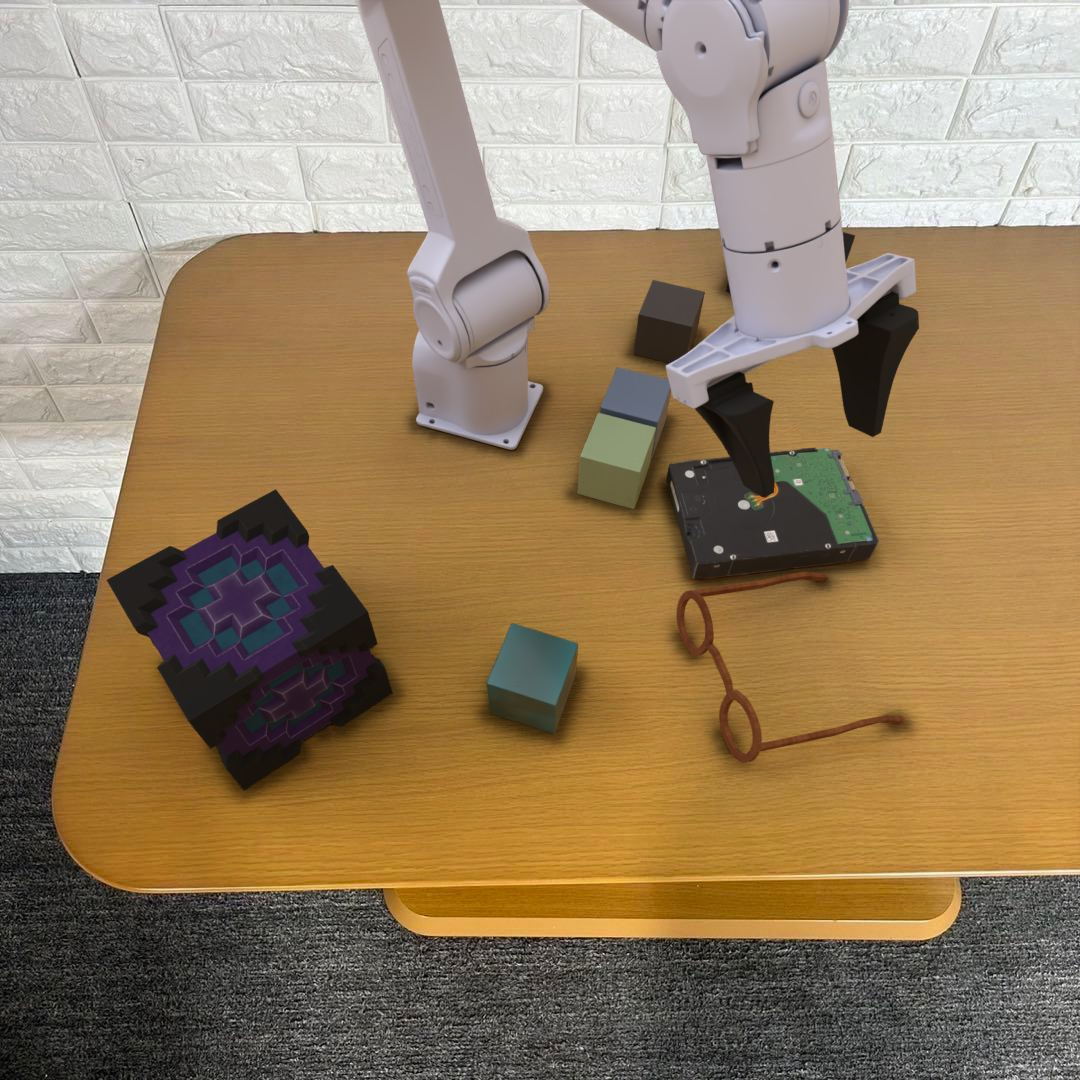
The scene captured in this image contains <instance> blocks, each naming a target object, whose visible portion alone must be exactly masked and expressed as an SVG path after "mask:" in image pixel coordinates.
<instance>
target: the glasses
mask: <svg viewBox="0 0 1080 1080" xmlns="http://www.w3.org/2000/svg"><path fill="white" fill-rule="evenodd" d="M827 579H829V576H828V574H827V573H823V572H813V571H802V572H801V571H800V572H795V573H788V574H783V575H778V576H773V577H770V578H766V579H761V580H754V581H748V582H740V583H734V584H727V585H719V586H712V587H707V588H705V587H704V588H700V589H690V590H686V591H684V592H683V593H682V594H681V595H680V597H679V600H678V602H677V606H676V623H677V628H678V632H679V636H680V638H681V641H682V642H683V645H684V647H685V648H686V650H687V651H688V652H689V653H690V654H691V655H692V656H696V657H697V656H701V655H704V654H706V653H707V652H708V653H709V654H710V655H711V657H712V660H713V662H714V664H715V667H716V669H717V671H718V674H719V676H720V678H721V680H722V683H723V685H724V689H725V695H724V697H723V699H722V701H721V704H720V707H719V713H718V718H719V720H718V721H719V726H720V730H721V734H722V737H723V740H724V742H725V745H726V746H727V749H728V751H729V752H730V753H731V755H732V757H733V758H734V759H735V760H737V761H738V762H740V763H741V764H742V763H743V764H746V763H750V762H753V761H755V760H756V759H757V758H758V757H759V754H760V753H763V752H766V751H771V750H775V749H780V748H784V747H788V746H794V745H799V744H803V743H808V742H812V741H817V740H821V739H826V738H831V737H835V736H839V735H841V734H842V735H843V734H845V733H848V732H851V731H853V730H857V729H860V728H865V727H868V726H873V725H877V724H895V725H896V724H900V723H904V722H906V719H905V717H904V715H892V714H891V715H890V714H885V715H879V716H874V717H869V718H864V719H859V720H856V721H853V722H849V723H845V724H843V725H840V726H835V727H831V728H826V729H822V730H817V731H812V732H807V733H802V734H798V735H793V736H788V737H784V738H780V739H774V740H771V741H766V742H763V736H762V728H761V724H760V721H759V718H758V715H757V712H756V710H755V708H754V706H753V705H752V703H751V701H750V700H749V699H748V698H747V696H746V695H745V694H744V693H742V692H741V691H740V690H738V689H734V686H733V685H734V684H733V681H732V677H731V675H730V672H729V669H728V668H727V665H726V663H725V661H724V659H723V656H722V654H721V652H720V650H719V649H718V647H717V646H716V645H715V644H714V639H715V633H714V624H713V618H712V617H713V616H712V614H711V611H710V608H709V606H708V604H707V601H706V599H704V598H705V597H713V596H719V595H726V594H732V593H733V594H734V593H740V592H747V591H752V590H759V589H765V588H768V587H772V586H777V585H780V584H784V583H790V582H796V581H800V580H802V581H803V580H804V581H814V582H824V581H826V580H827ZM690 600H693V601H694V602H695V603H696V605H697V606H698V609H699V610H700V613H701V615H702V619H703V624H704V638H703V641H702V643H701V644H700V645H699V646H697V645H695V644H694V642H693V641H692V639H691V637H690V635H689V632H688V630H687V625H686V621H685V612H686V607H687V604H688V602H689V601H690ZM734 701H735V702H737V703H738V704H739V705H740V706H741V707H742V709H743V710H744V712H745V714H746V716H747V719H748V721H749V725H750V729H751V736H752V738H751V739H752V740H751V742H752V743H751V746H750V748H749V750H748V751H747V752H746V753H745V752H743V751H742V750H741V749H740V748H739V747H738V745H737V743H736V742H735V740H734V737H733V735H732V732H731V730H730V725H729V719H728V718H729V710H730V707H731V706H732V703H733V702H734Z"/></svg>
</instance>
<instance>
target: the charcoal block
mask: <svg viewBox="0 0 1080 1080" xmlns="http://www.w3.org/2000/svg"><path fill="white" fill-rule="evenodd" d="M705 294H706V292H705V291H704V290H699V289H695V288H691V287H687V286H682V285H677V284H673V283H668V282H664V281H660V280H655V279H652V281H651V283H650V286H649V288H648V290H647V293H646V295H645V298H644V300H643V303H642V304H641V308H640V310H639V312H638V315H637V316H638V317H637V324H636V330H635V331H636V332H635V339H634V349H633V355H635V356H639V357H643V358H647V359H651V360H655V361H658V362H663V363H667V364H670V363H672V362H674V361H675V360H677V359H679V358H680V357H682V356H684V355H685V354H687V353H688V352H689V351H691V350H692V348H693V344H694V341H695V339H696V336H697V334H698V329H699V323H700V319H701V314H702V309H703V304H704V298H705Z"/></svg>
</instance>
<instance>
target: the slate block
mask: <svg viewBox="0 0 1080 1080" xmlns="http://www.w3.org/2000/svg"><path fill="white" fill-rule="evenodd" d="M671 395H672V392H671V388H670V384H669V379H668V378H663V377H659V376H655V375H651V374H647V373H642V372H639V371H635V370H631V369H627V368H623V367H618V366H617V367H616V368H615V371H614V373H613V375H612V378H611V380H610V383H609V385H608V388H607V390H606V392H605V395H604V397H603V399H602V402H601V404H600V406H599V407H600V409H599V413H602V414H605V415H609V416H613V417H617V418H621V419H625V420H629V421H633V422H636V423H640V424H644V425H648V426H652V427H656V432H655V437H654V443H653V449H652V455H651V461H652V459H653V457H654V454H655V453H656V449H657V446H658V443H659V441H660V437H661V435H662V433H663V430H664V426H665V423H666V421H667V417H668V416H667V415H668V410H669V405H670V400H671Z"/></svg>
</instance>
